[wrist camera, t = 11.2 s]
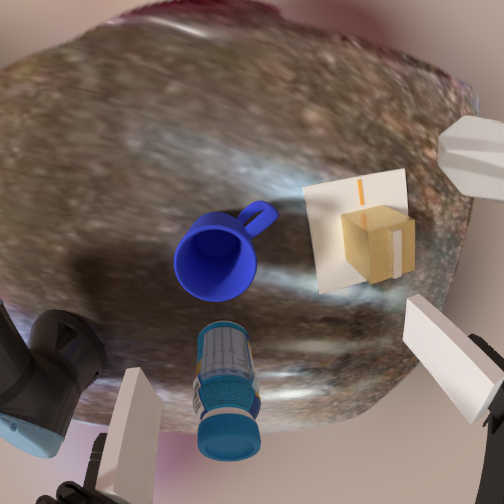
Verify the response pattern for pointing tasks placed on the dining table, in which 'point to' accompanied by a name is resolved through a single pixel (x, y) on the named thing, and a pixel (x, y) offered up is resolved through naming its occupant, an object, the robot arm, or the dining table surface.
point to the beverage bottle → (226, 393)
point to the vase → (474, 157)
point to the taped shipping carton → (379, 242)
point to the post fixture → (330, 226)
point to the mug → (221, 253)
